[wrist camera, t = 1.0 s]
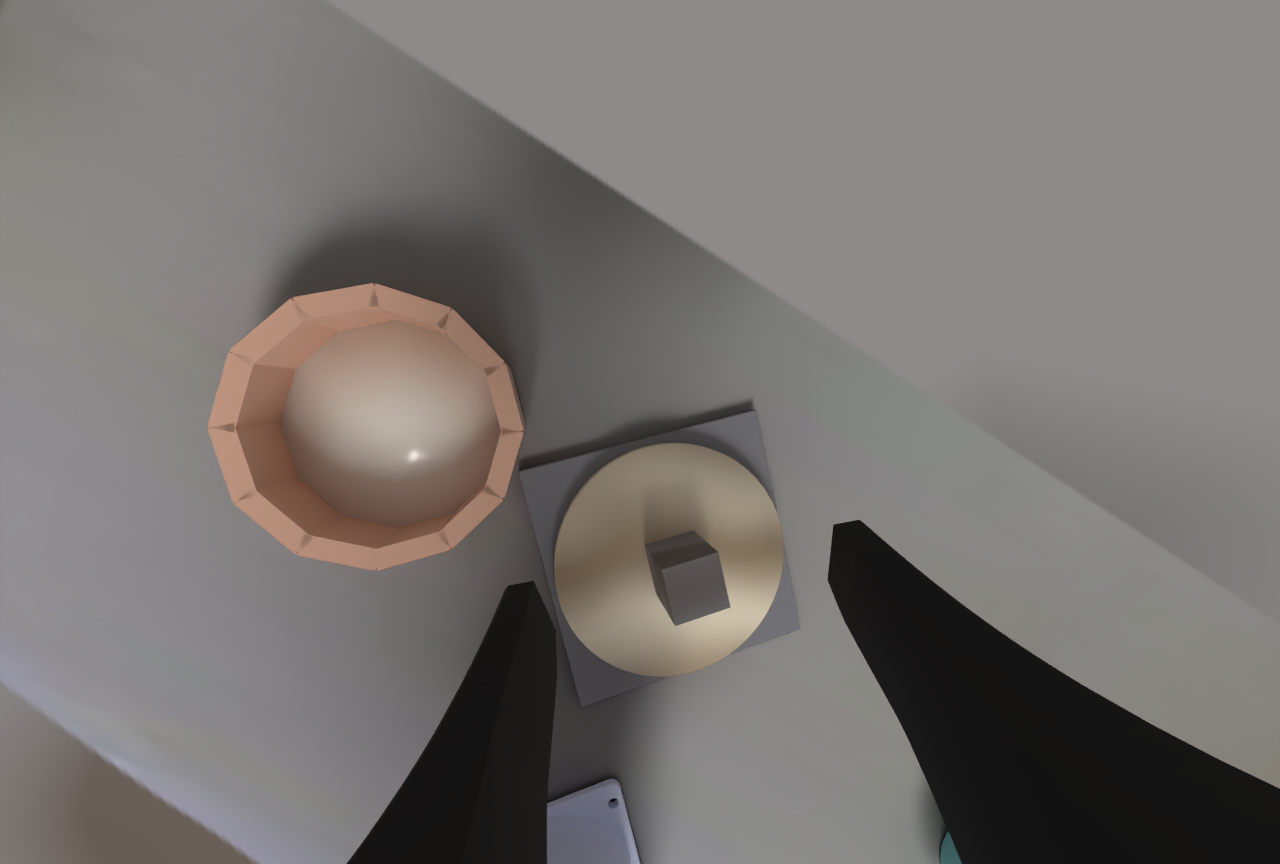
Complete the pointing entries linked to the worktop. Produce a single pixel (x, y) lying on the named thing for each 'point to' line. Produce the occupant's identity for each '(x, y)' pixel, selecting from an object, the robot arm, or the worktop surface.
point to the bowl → (366, 426)
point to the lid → (668, 559)
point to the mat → (563, 478)
